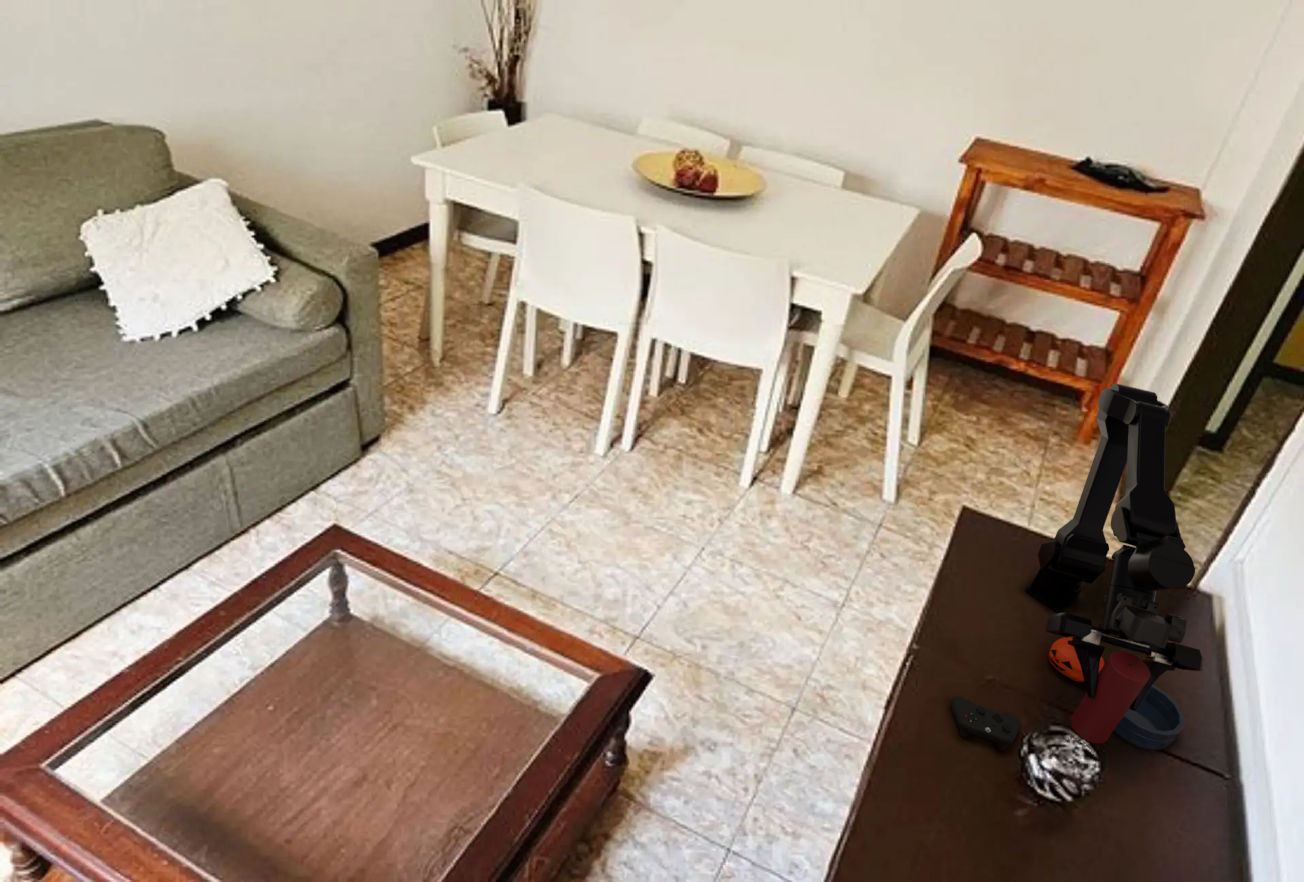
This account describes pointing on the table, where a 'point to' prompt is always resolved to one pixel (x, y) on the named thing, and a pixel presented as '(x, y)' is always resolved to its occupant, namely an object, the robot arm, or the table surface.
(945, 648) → the table surface
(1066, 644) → the pumpkin
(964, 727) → the gaming controller
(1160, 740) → the blue round dish
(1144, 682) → the candle
